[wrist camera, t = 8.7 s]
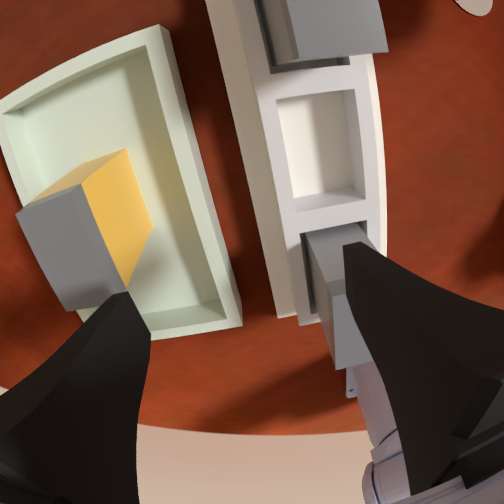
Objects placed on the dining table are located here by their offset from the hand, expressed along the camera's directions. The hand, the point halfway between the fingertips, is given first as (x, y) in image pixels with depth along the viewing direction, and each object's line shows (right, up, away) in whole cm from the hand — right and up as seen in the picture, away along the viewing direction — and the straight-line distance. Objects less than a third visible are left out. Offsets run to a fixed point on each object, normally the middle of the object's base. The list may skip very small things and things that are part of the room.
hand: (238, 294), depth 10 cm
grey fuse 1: (+2, +13, +3) cm, 13 cm away
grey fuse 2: (+5, +1, +10) cm, 11 cm away
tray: (-7, +4, +8) cm, 11 cm away
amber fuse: (-7, +5, +7) cm, 11 cm away
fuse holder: (+4, +7, +7) cm, 11 cm away
